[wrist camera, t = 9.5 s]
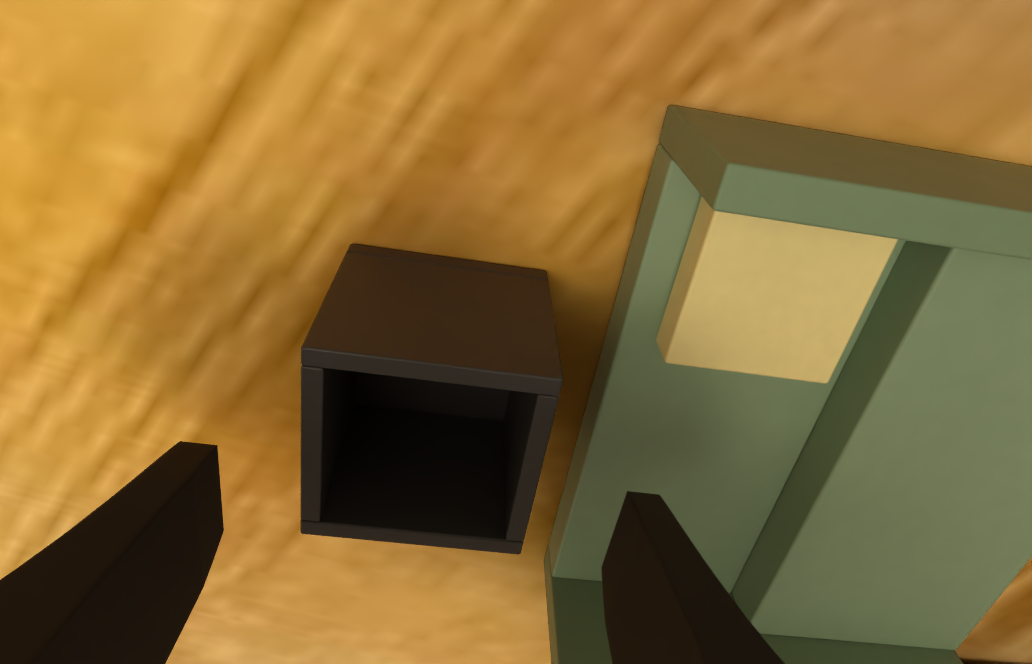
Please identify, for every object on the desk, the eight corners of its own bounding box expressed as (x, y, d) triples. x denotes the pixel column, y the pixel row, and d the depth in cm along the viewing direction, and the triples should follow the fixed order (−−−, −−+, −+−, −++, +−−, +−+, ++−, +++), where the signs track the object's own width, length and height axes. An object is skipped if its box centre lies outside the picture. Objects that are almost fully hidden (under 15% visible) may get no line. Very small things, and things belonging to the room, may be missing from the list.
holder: (515, 422, 18) (520, 555, 14) (343, 402, 18) (299, 534, 14) (547, 270, 16) (563, 379, 12) (350, 242, 15) (300, 347, 11)
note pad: (810, 360, 16) (828, 385, 15) (654, 340, 15) (663, 364, 14) (880, 208, 14) (907, 226, 13) (705, 180, 13) (719, 197, 12)
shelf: (898, 594, 22) (976, 722, 19) (543, 560, 21) (553, 691, 17) (1177, 190, 15) (1391, 271, 12) (668, 103, 14) (728, 162, 10)
